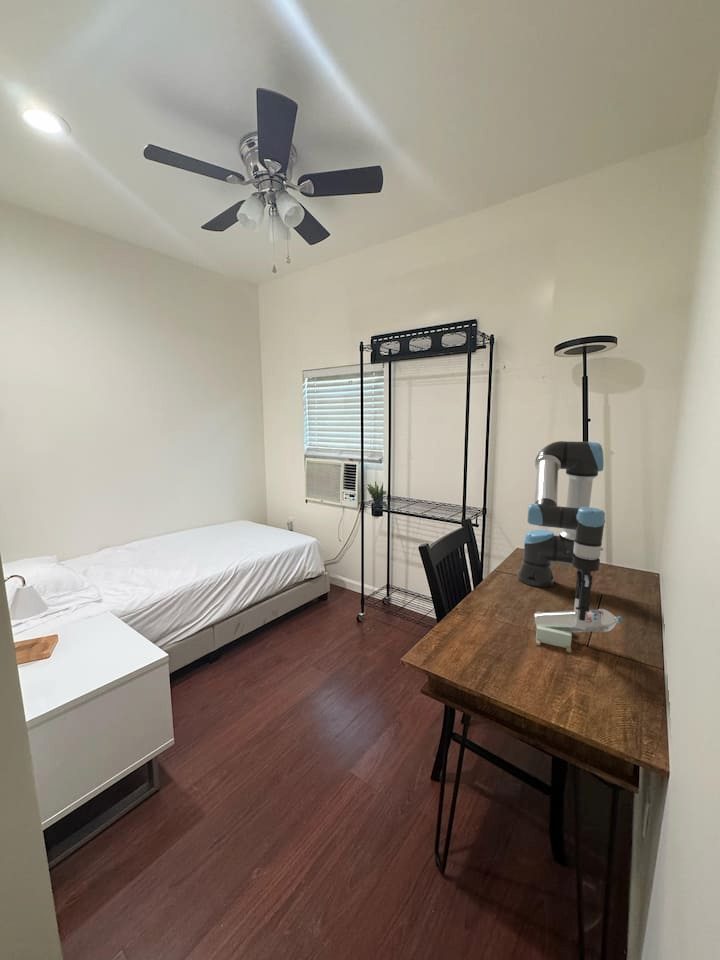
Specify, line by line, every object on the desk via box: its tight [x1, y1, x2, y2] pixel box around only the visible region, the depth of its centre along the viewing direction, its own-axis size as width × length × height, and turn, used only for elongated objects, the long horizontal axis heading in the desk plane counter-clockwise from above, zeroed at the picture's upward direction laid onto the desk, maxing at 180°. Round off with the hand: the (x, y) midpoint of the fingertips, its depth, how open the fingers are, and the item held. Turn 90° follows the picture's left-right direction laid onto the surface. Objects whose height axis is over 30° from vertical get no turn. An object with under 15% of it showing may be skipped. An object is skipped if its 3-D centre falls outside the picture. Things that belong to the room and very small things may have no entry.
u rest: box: [535, 611, 573, 653], centre depth 129 cm, size 10×18×4 cm, turn 156°
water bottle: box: [533, 608, 623, 633], centre depth 126 cm, size 7×7×25 cm
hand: (579, 622), depth 126 cm, fingers closed on water bottle, 7 cm apart
